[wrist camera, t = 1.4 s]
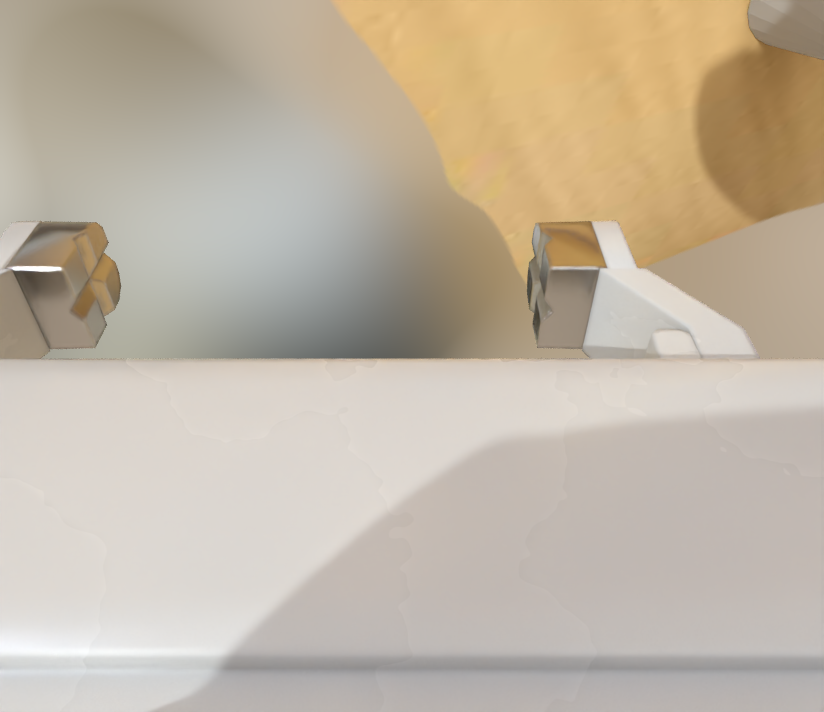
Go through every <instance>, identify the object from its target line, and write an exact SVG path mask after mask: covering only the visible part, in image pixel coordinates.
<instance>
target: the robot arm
mask: <svg viewBox="0 0 824 712" xmlns="http://www.w3.org/2000/svg"><path fill="white" fill-rule="evenodd" d="M108 243H109V242H108V240H107V237H106V235H105V232H104V230H103V227H101V226H100V225H99V224H98V223H96V222H42V221H21V222H20V221H19V222H14V223H11V224H10V226H9V227H8V228H7V229H6V230H5V232H4V233H3V234H2V236H1V237H0V712H824V359H823V358H822V359H760V357H759V355H758V353H757V351H756V350H755V348H754V346H753V344H752V342H751V340H750V338H749V336H748V335H747V333H746V331H745V329H744V328H743V327H741V326H740V325H738V324H736V323H734V322H733V321H731V320H729V319H728V318H726V317H725V316H723V315H721V314H720V313H718V312H716V311H715V310H713V309H711V308H710V307H708V306H706V305H705V304H703V303H702V302H700V301H698V300H697V299H695V298H693V297H692V296H690V295H688V294H687V293H685V292H684V291H682V290H680V289H678V288H677V287H675V286H674V285H672V284H670V283H669V282H667V281H665V280H664V279H662V278H660V277H659V276H657V275H656V274H654V273H652V272H651V271H649V270H647V269H646V268H638V267H637V265H636V262H635V260H634V258H633V255H632V253H631V250H630V248H629V246H628V243H627V241H626V239H625V236H624V234H623V231H622V229H621V227H620V224H619V222H617V221H615V220H612V221H585V222H546V223H536V224H535V227H534V231H533V238H532V245H533V250H534V255H535V257H534V258H533V259H532V260H531V261H530V262H529V269H528V280H527V295H528V303H529V309H530V310H531V311H532V312H533V313H534V318H533V329H534V334H535V339H536V344H537V348H566V349H582V351H583V352H584V353H585V354H586V355H587V356H588V357H589V358H590V359H41V358H42V357H43V356H45V355H46V354H47V353H48V352H50V349H74V348H95V347H96V345H97V344H98V341H99V339H100V338H101V336H102V334H103V332H104V330H105V328H106V326H107V324H106V321H105V318H104V316H106V315H107V314H109V313H110V312H112V311H113V310H115V308H116V306H117V304H118V302H119V298H120V289H121V283H120V277H119V272H118V269H117V266H116V263H115V262H114V261H113V260H112V259H111V258H110V257H108V256H107V255H106V254H105V253H104V251H105V249H106V247H107V245H108Z"/></svg>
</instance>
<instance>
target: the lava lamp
mask: <svg viewBox="0 0 824 712" xmlns="http://www.w3.org/2000/svg"><path fill="white" fill-rule="evenodd" d="M748 21H749V28H750V29H751V31H752V33H753V34H754V36H755V38H756V39H758V40H760V41H761V42H763V43H765V44H767V45H770V46H774V47H778V48H781V49H785V50H788V51H792V52H796V53H799V54H803V55H807V56H810V57H814V58H818V59H821V60H824V0H750V4H749V9H748Z"/></svg>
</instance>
